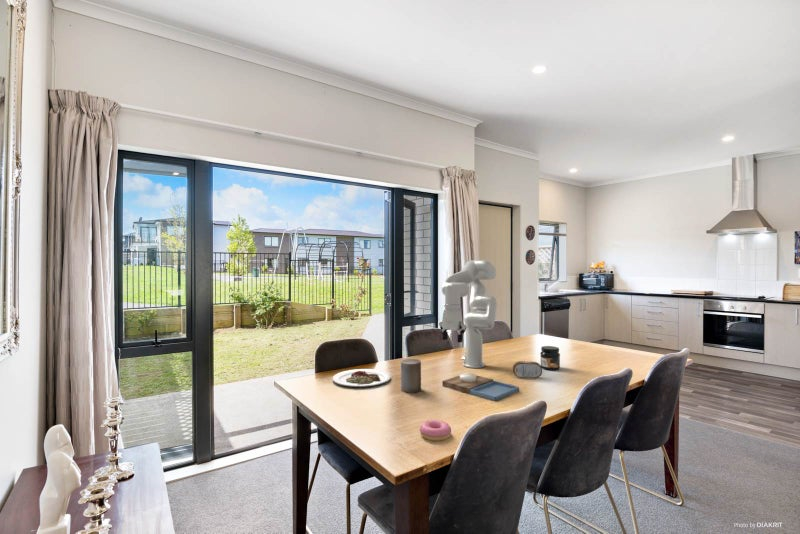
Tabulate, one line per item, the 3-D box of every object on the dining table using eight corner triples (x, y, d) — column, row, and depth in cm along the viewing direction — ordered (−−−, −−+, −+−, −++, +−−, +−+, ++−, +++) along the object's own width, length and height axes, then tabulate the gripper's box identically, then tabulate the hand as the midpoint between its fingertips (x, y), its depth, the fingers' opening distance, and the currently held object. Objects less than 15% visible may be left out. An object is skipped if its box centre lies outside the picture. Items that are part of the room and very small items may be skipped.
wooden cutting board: (442, 386, 191) (442, 380, 191) (467, 377, 205) (467, 373, 205) (469, 393, 180) (469, 388, 180) (493, 384, 193) (493, 379, 193)
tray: (469, 393, 179) (469, 389, 179) (493, 384, 193) (493, 380, 193) (495, 401, 169) (495, 396, 169) (518, 391, 183) (518, 386, 183)
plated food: (354, 393, 181) (354, 386, 181) (321, 379, 204) (321, 373, 204) (402, 381, 201) (402, 374, 201) (367, 369, 223) (367, 363, 223)
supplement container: (541, 370, 219) (541, 349, 219) (539, 365, 229) (539, 345, 229) (561, 371, 216) (561, 350, 216) (558, 366, 227) (558, 346, 227)
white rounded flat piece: (456, 380, 192) (456, 375, 192) (466, 376, 198) (466, 372, 198) (469, 383, 187) (469, 378, 187) (479, 380, 192) (479, 375, 192)
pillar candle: (424, 388, 188) (424, 357, 188) (416, 394, 180) (416, 361, 179) (405, 385, 192) (405, 355, 192) (397, 391, 184) (397, 359, 183)
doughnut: (418, 429, 141) (418, 418, 141) (448, 428, 142) (448, 417, 142) (421, 443, 130) (421, 430, 130) (454, 442, 131) (454, 430, 131)
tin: (541, 377, 206) (541, 361, 206) (543, 379, 203) (543, 362, 203) (512, 376, 207) (512, 360, 207) (513, 378, 204) (513, 362, 204)
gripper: (434, 306, 203) (434, 339, 203) (461, 309, 191) (461, 344, 191) (444, 305, 208) (444, 337, 208) (470, 308, 196) (470, 342, 196)
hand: (452, 340), depth 199 cm, fingers open, 9 cm apart
